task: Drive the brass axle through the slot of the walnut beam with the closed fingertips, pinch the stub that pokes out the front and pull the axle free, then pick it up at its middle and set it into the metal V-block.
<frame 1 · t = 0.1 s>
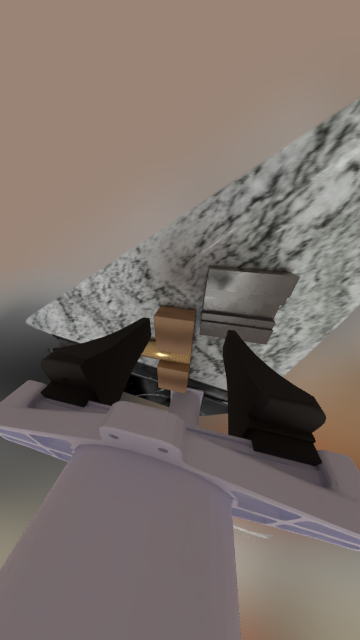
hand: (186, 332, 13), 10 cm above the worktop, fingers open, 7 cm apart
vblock: (238, 303, 21), on the worktop
beam: (176, 348, 28), on the worktop
axle: (162, 345, 28), on the worktop
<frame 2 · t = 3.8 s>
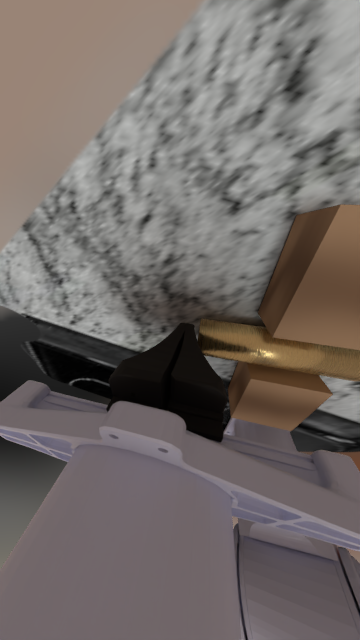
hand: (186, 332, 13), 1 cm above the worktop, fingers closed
beam: (284, 338, 13), on the worktop
axle: (263, 335, 13), on the worktop, touching gripper
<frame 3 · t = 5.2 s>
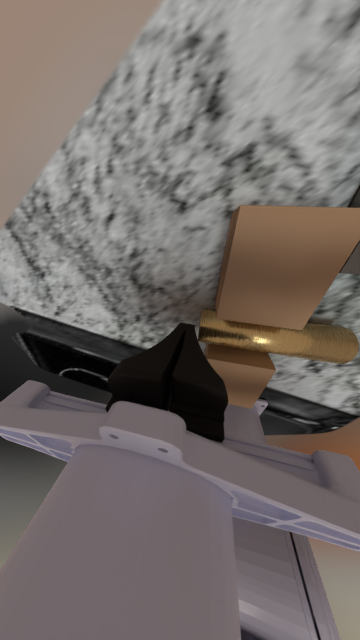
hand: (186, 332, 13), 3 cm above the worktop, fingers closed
beam: (240, 324, 14), on the worktop
axle: (259, 325, 14), on the worktop
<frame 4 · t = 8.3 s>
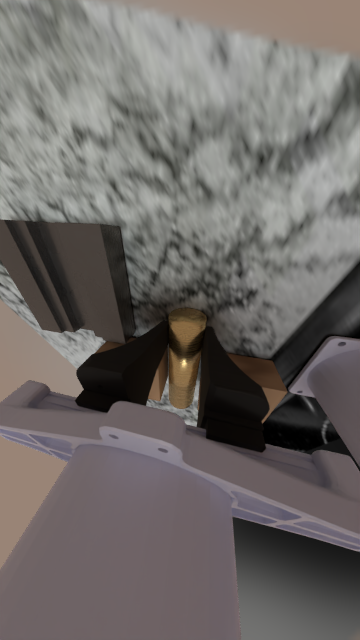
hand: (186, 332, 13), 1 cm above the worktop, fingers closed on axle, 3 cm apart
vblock: (82, 284, 14), on the worktop
beam: (184, 364, 17), on the worktop
axle: (186, 353, 16), on the worktop, touching gripper
when the fingers open (1 cm above the worktop, at t = 10.4 s): axle stays where it is, on the worktop.
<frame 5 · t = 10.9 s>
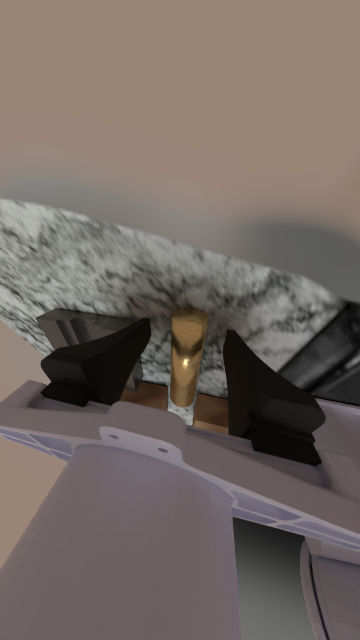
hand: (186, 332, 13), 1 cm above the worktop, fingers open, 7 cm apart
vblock: (103, 346, 18), on the worktop
beam: (181, 401, 22), on the worktop
axle: (186, 352, 16), on the worktop, tilted 6°
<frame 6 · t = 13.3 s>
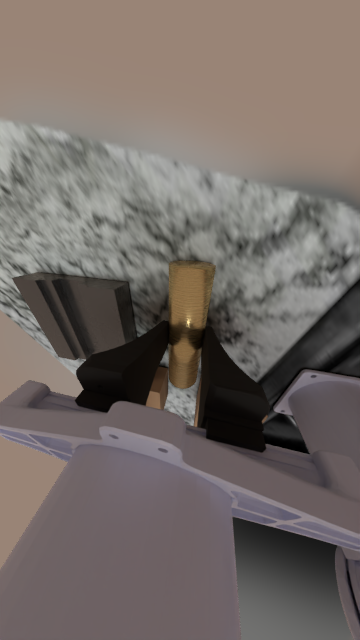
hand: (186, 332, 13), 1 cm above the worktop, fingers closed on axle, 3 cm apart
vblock: (94, 320, 16), on the worktop
beam: (182, 385, 19), on the worktop
axle: (188, 324, 14), on the worktop, touching gripper
when the fingers open (4 cm above the worktop, at t = 16.3 s): axle drops 1 cm, resting on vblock.
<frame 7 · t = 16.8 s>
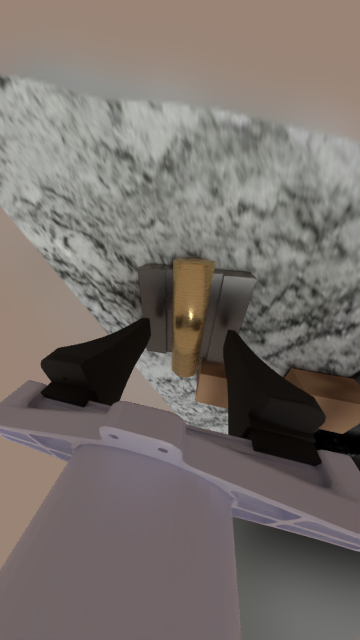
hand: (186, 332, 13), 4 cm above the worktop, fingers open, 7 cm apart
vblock: (191, 312, 16), on the worktop
beam: (263, 379, 19), on the worktop
axle: (189, 317, 15), point 1 cm above the worktop, touching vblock
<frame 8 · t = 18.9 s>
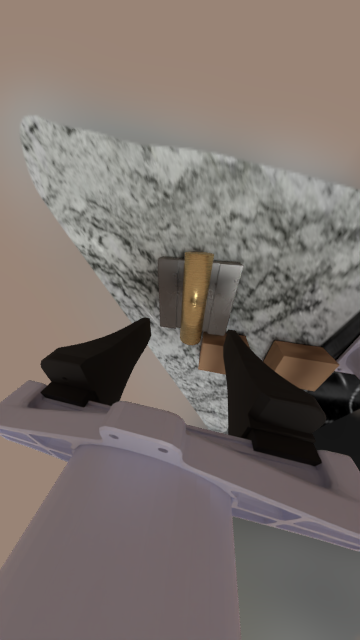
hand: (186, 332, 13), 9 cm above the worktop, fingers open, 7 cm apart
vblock: (195, 295, 21), on the worktop
beam: (253, 351, 24), on the worktop
axle: (194, 298, 20), point 1 cm above the worktop, touching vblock
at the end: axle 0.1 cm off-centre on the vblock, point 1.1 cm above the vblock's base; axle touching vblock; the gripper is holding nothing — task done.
